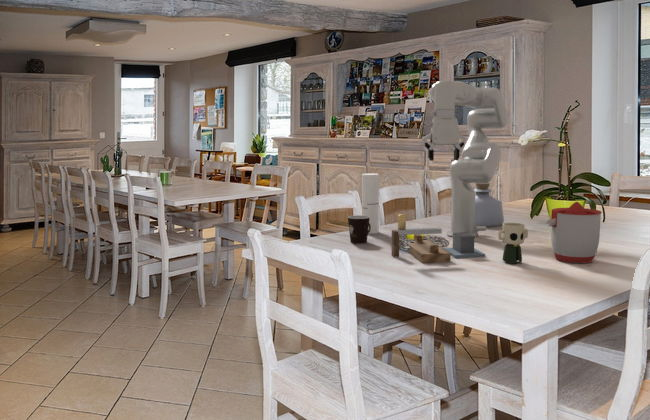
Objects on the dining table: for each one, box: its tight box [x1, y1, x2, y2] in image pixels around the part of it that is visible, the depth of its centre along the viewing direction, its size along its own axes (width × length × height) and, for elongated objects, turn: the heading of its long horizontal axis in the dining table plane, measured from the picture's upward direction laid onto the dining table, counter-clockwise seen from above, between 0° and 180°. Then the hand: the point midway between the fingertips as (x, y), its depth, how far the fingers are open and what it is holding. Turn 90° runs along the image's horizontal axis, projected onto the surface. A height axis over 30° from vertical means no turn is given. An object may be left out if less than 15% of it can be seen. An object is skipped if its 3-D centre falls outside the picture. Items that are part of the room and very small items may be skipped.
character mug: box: [497, 222, 529, 264], centre depth 205 cm, size 11×7×13 cm, turn 106°
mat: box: [442, 246, 486, 259], centre depth 220 cm, size 11×13×1 cm
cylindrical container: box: [361, 172, 380, 235], centre depth 262 cm, size 7×7×25 cm
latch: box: [397, 213, 443, 236], centre depth 207 cm, size 15×3×7 cm, turn 97°
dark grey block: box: [452, 232, 476, 253], centre depth 219 cm, size 5×8×6 cm, turn 8°
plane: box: [391, 229, 452, 264], centre depth 217 cm, size 17×24×9 cm
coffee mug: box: [347, 214, 371, 245], centre depth 240 cm, size 12×9×10 cm
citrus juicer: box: [545, 201, 603, 264], centre depth 207 cm, size 16×17×20 cm
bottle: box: [473, 182, 505, 228], centre depth 282 cm, size 20×20×19 cm
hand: (443, 160), depth 233 cm, fingers open, 9 cm apart
